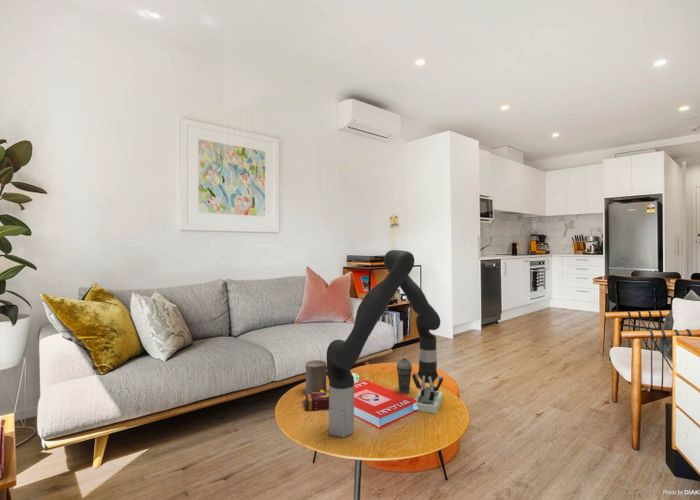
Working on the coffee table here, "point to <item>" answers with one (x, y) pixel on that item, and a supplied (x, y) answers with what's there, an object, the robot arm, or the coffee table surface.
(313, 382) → the pillar candle
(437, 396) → the mint green tray
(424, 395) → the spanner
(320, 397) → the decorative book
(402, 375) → the beverage cup
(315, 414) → the coffee table surface
